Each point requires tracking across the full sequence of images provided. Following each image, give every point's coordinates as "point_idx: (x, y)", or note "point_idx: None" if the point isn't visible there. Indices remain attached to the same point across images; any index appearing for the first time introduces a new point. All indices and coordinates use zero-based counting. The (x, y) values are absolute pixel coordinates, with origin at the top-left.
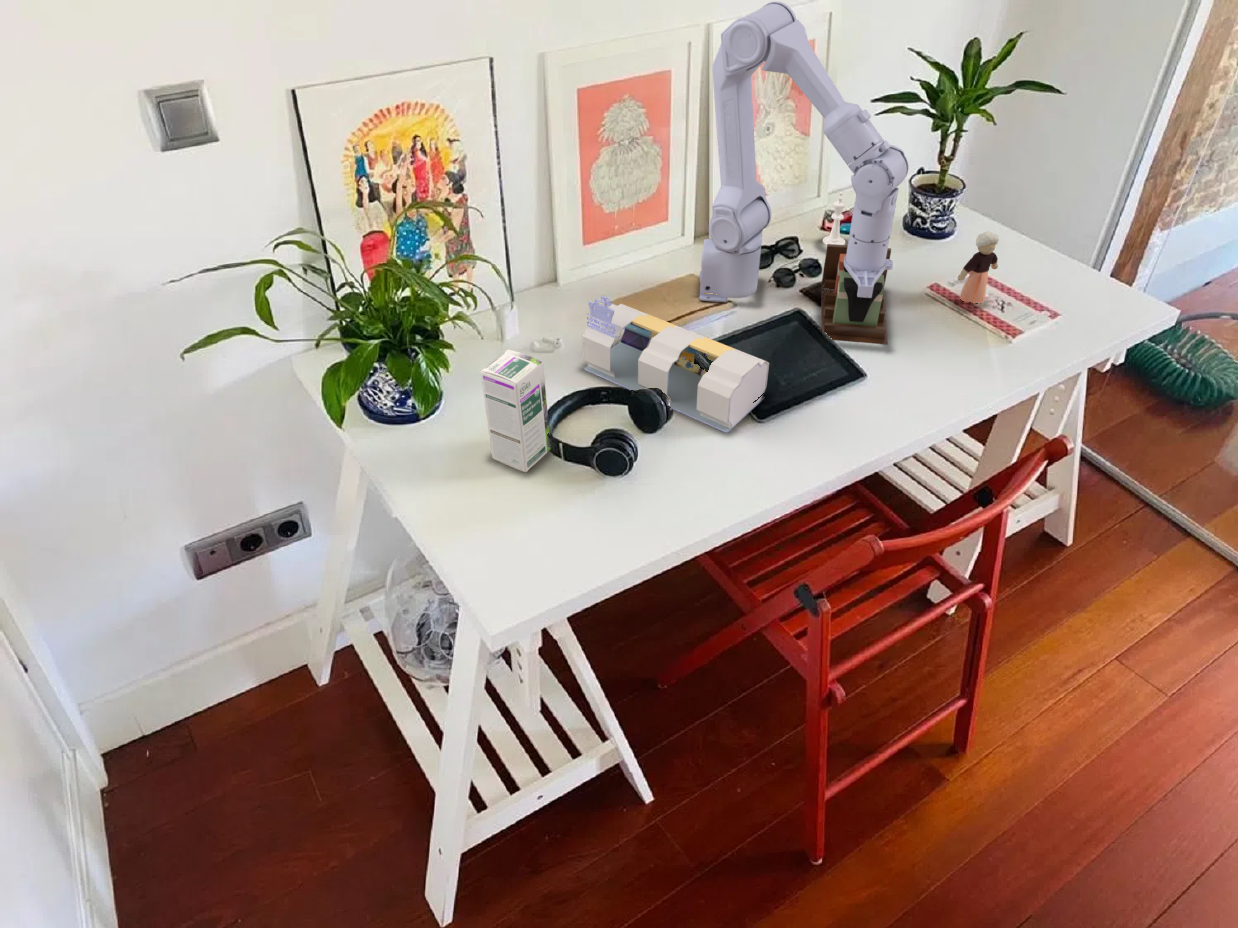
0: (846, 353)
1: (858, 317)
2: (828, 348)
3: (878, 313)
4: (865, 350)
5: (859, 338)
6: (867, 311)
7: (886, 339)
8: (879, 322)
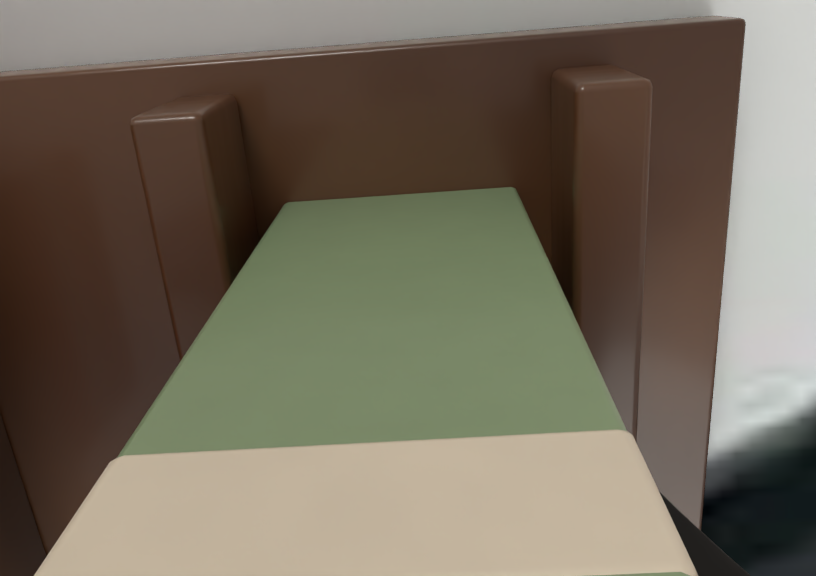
0: (799, 409)
1: None
2: (725, 547)
3: (561, 299)
4: (735, 244)
5: (645, 346)
6: (696, 529)
7: (635, 42)
8: (255, 145)
